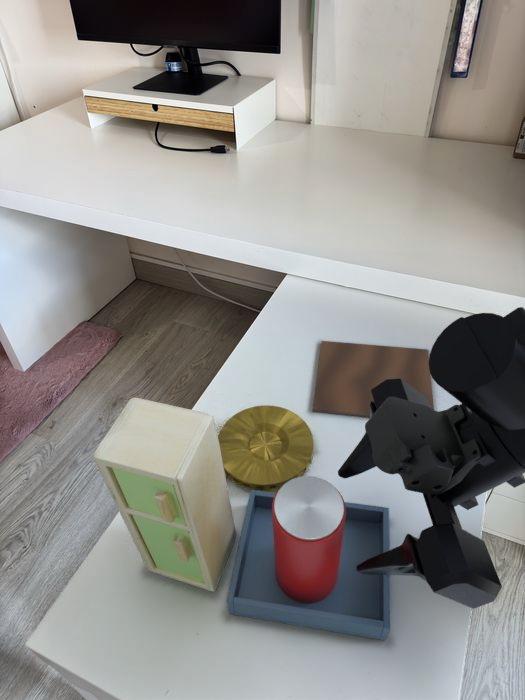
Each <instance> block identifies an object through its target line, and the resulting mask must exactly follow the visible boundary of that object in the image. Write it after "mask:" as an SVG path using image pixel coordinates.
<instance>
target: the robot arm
mask: <svg viewBox="0 0 525 700" xmlns="http://www.w3.org/2000/svg"><path fill="white" fill-rule="evenodd" d="M429 370H430V374H431V379H433V381H434V382H435V383H436V385H438V386H439V387H440V388H441V389H443V390H444V391H445V392H446V393H448V394H449V395H451V397H453V398H454V399H456V400H457V401H458V402H459V403H460V404H453V405H452V406H451V407H449V408H447V409H443V410H440V411H437V410H435V409H434V410H433V409H432V408H431V406H430V403H429V401H428V398H426V397H425V396H424V395H422V394H421V393H420V392H418V391H417V390H416V389H414V388H413V387H411V386H410V385H409V384H407V383H406V382H405V381H403V380H402V379H401V378H393V379H386V380H384V381H383V382H382V383H380V384H379V385H377V386H376V387H374V388H373V389H371V392H372V395H373V399H374V401H371V402H370V404H369V408H370V417H369V418H368V420H367V421H366V423H364V424H365V425H364V430H365V433H364V435H363V436H362V437H361V439H360V441H359V442H358V443H357V445H356V446H355V447H354V449H353V450H352V451H351V453H350V454H349V455H348V456H347V458H346V459H345V460H344V462H343V464H342V465H341V466H340V468H339V469H338V470H337V475H338V477H340V478H342V479H349V478H352V477H356V476H358V475H361V474H364V473H366V472H367V471H370V470H372V469H374V468H377V469H378V470H380V471H381V472H382V473H385V474H388V475H395V474H397V475H399V476H400V478H401V480H402V484H403V486H404V489H405V490H407V491H410V492H415V493H419V494H422V496H423V499H424V502H425V505H426V508H427V511H428V514H429V517H430V520H431V524H432V525H431V526H429V527H427V528H425V529H422V530H421V532H420V535H419V536H418V537H416V536H414V535H412V534H410V533H407V534H406V535H405V537H404V539H403V542H402V544H400V545H398V546H396V547H393V548H392V549H389V551H386V552H384V553H381V554H379V555H377V556H374V557H372V558H369V559H367V560H365V561H364V562H362V563H361V564H359V565H357V566H356V570H357V572H359V573H362V574H370V575H390V576H402V577H403V576H405V577H418V578H420V579H421V580H423V581H425V582H426V583H427V585H428V586H429V587H430V589H431V591H432V592H433V593H435V594H437V595H440V596H442V597H444V598H446V599H449V600H451V601H454V602H455V603H458V604H461V605H464V606H465V607H468V608H470V609H472V610H474V609H477V608H480V607H482V606H485V605H488V604H490V603H494V601H495V600H496V599H497V597H498V595H499V593H500V592H501V590H502V588H503V585H502V583H501V580H500V578H499V575H498V572H497V570H496V568H495V565H494V562H493V559H492V557H491V555H490V552H489V549H488V547H487V545H486V541H485V540H483V539H481V538H479V537H478V536H476V535H474V534H473V533H470V532H469V531H467V530H466V529H463V527H462V525H461V521H460V519H459V516H458V514H457V511H456V508H455V507H458V506H460V507H462V508H463V509H465V510H467V511H468V510H471V509H473V508H475V507H478V506H479V501H478V500H477V497H478V496H480V495H482V494H484V493H486V492H488V491H491V490H493V489H495V488H497V487H499V486H501V485H503V484H505V483H507V484H508V485H509V486H511V487H512V488H517V487H519V486H522V485H523V484H525V476H524V474H525V308H524V307H522V306H519V307H517V308H515V309H514V310H512V311H510V312H509V313H507V314H506V315H504V316H502V315H500V314H496V313H494V312H479V313H474V314H471V315H468V316H465V317H463V316H461V317H459V318H457V319H455V320H454V321H452V322H451V323H450V324H449V325H447V326H446V327H445V328H444V329H443V330H442V331H441V332H440V334H439V335H438V336H437V338H436V339H435V341H434V342H433V344H432V347H431V350H430V353H429Z"/></svg>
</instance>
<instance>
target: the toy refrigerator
mask: <svg viewBox="0 0 525 700" xmlns="http://www.w3.org/2000/svg"><path fill="white" fill-rule="evenodd" d="M218 435H219V434H218V431H217V425H216V421H215V417H214V416H213V415H211V414H209V413H206V412H203V411H199V410H195V409H189V408H185V407H181V406H176V405H171V404H167V403H164V402H163V403H162V402H158V401H153V400H149V399H145V398H140V397H131V398H130V399H129V400H128V402H127V403H126V405H125V406H124V407H123V409H122V411H121V412H120V413H119V415H118V417H117V418H116V419H115V420H114V422H113V424H112V426H111V427H110V428H109V430H108V432H107V433H106V435H105V436H104V437H103V439H102V440H101V442H100V443H99V444H98V446H97V448H96V450H95V451H94V453H93V455H92V459H93V461H94V463H95V466H96V467H97V469H98V471H99V473H100V476H101V477H102V479H103V482H104V484H105V486H106V487H107V490H108V492H109V494H110V496H111V498H112V500H113V502H114V503H115V506H116V508H117V509H118V511H119V513H120V516H121V518H122V520H123V523H124V524H125V526H126V529H127V530H128V532H129V534H130V537H131V538H132V541H133V543H134V545H135V547H136V549H137V551H138V553H139V555H140V557H141V559H142V561H143V563H144V566H145V567H146V569H147V570H148V571H149V572H151V573H154V574H157V575H159V576H163V577H166V578H168V579H172V580H176V581H177V582H178V581H179V582H181V583H185V584H188V585H190V586H194V587H197V588H199V589H203V590H206V591H209V592H212V593H213V592H215V591H216V590H217V588H218V585H219V584H220V581H221V578H222V575H223V573H224V570H225V569H226V568H225V567H226V565H227V562H228V560H229V557H230V554H231V552H232V549H233V547H234V544H235V541H236V538H237V531H236V524H235V520H234V514H233V510H232V503H231V498H230V493H229V487H228V484H227V478H226V477H225V472H224V467H223V461H222V456H221V451H220V445H219V440H218Z"/></svg>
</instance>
